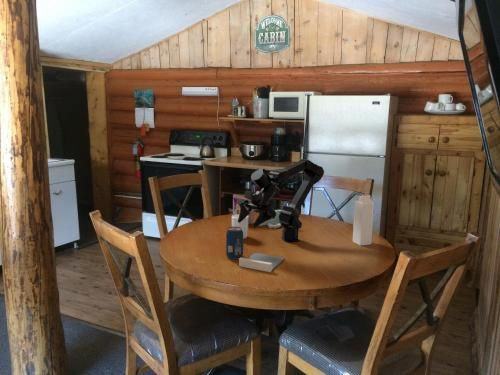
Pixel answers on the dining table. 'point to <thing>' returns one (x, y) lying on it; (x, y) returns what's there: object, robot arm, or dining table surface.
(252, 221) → the pink printed box
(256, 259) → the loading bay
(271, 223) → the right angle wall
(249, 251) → the dining table surface
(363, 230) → the milk
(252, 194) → the robot arm
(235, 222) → the white cup
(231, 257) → the soda can
